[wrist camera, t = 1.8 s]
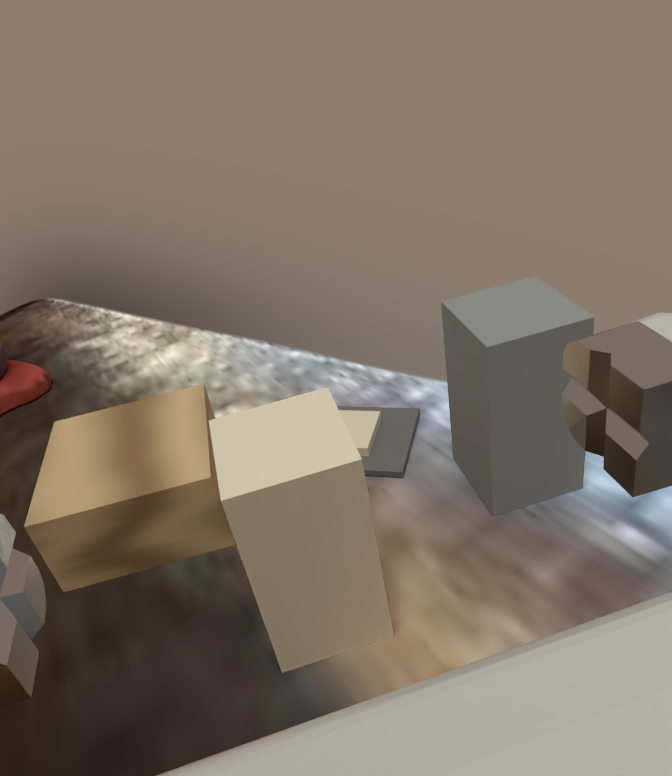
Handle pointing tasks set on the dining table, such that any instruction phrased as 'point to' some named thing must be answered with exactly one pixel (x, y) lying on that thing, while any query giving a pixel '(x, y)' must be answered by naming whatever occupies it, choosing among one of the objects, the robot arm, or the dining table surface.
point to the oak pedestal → (128, 490)
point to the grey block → (513, 391)
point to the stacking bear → (20, 382)
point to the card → (382, 437)
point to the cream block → (303, 526)
